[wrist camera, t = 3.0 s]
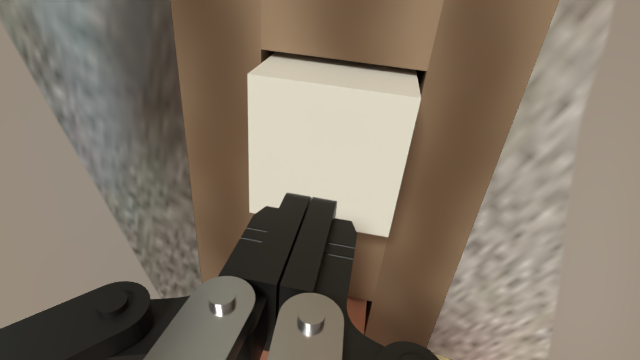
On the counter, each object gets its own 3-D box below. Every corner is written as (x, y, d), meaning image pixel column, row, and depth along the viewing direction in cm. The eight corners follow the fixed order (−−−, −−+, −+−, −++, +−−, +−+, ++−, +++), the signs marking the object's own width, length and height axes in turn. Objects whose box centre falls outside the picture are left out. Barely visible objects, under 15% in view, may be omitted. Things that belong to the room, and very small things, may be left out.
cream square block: (274, 168, 19) (249, 212, 16) (278, 50, 16) (247, 73, 13) (389, 187, 19) (388, 237, 15) (415, 68, 16) (421, 97, 12)
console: (242, 304, 33) (211, 372, 28) (230, -73, 19) (160, -87, 13) (399, 336, 32) (400, 415, 26) (519, -45, 17) (577, -47, 12)
